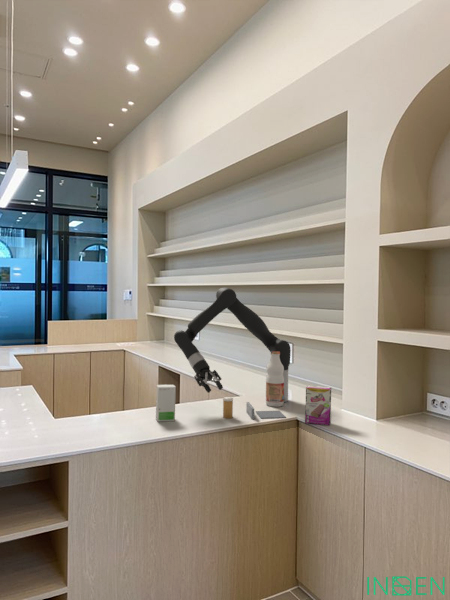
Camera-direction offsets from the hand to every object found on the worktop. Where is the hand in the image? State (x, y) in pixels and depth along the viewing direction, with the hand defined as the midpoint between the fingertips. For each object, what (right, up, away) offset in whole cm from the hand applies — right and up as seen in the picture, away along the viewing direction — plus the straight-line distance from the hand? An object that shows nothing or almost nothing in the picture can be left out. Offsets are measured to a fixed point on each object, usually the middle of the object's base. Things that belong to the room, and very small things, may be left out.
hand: (215, 390), depth 214 cm
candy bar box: (+46, -12, -13) cm, 50 cm away
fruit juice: (+30, -12, +20) cm, 38 cm away
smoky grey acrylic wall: (+16, -12, -2) cm, 20 cm away
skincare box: (-23, -12, -10) cm, 27 cm away
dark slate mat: (+26, -12, 0) cm, 29 cm away
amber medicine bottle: (+6, -12, -5) cm, 14 cm away
